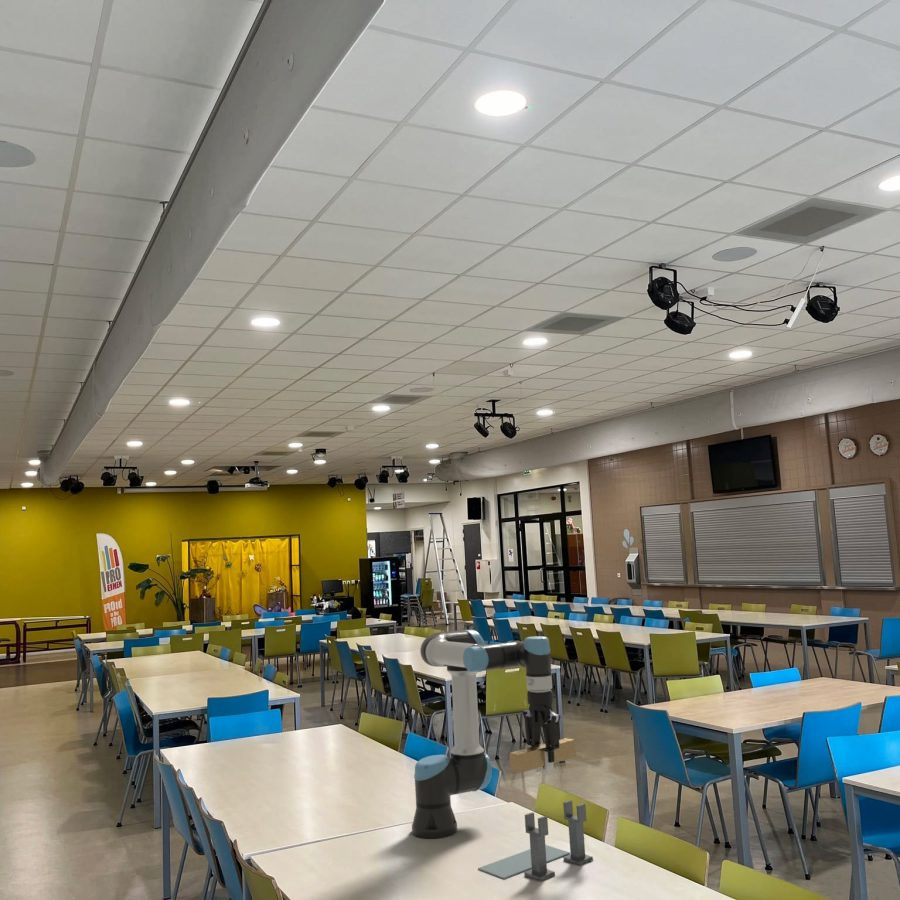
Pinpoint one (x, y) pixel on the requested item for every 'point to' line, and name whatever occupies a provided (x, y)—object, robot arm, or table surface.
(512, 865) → the mat
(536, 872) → the rack
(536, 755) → the rail
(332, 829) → the table surface
